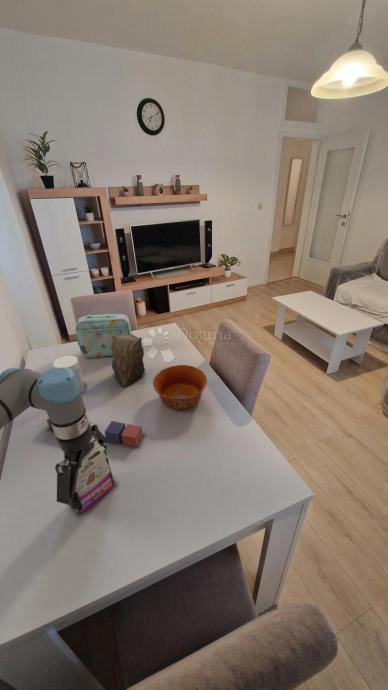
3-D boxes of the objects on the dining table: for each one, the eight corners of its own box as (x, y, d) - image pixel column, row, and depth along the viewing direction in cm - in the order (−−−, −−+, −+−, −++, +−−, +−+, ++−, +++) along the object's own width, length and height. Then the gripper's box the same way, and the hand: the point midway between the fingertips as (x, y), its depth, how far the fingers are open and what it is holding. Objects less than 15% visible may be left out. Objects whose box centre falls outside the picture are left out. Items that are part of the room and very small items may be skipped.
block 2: (106, 442, 93) (104, 431, 91) (113, 431, 97) (111, 420, 95) (120, 445, 92) (118, 434, 90) (126, 433, 96) (125, 423, 94)
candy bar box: (106, 475, 82) (96, 437, 74) (115, 486, 79) (106, 447, 71) (70, 503, 75) (54, 464, 67) (79, 516, 72) (64, 477, 64)
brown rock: (112, 374, 127) (105, 336, 117) (137, 365, 133) (133, 328, 123) (123, 388, 118) (116, 348, 108) (149, 378, 124) (145, 339, 114)
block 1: (50, 430, 98) (46, 420, 95) (59, 420, 102) (56, 410, 99) (62, 433, 97) (59, 423, 94) (71, 422, 101) (68, 412, 98)
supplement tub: (58, 399, 112) (48, 369, 105) (63, 384, 120) (55, 356, 113) (83, 396, 114) (75, 366, 106) (86, 382, 122) (79, 354, 114)
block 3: (123, 445, 92) (121, 435, 90) (129, 434, 96) (127, 423, 94) (137, 448, 91) (135, 437, 88) (142, 436, 95) (141, 426, 93)
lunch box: (78, 361, 136) (68, 322, 126) (81, 350, 145) (72, 313, 134) (133, 355, 141) (128, 317, 130) (133, 345, 150) (128, 308, 139)
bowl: (157, 422, 101) (155, 401, 96) (152, 386, 119) (150, 367, 114) (212, 414, 105) (213, 393, 100) (199, 380, 123) (200, 361, 118)
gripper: (52, 478, 53) (76, 536, 64) (112, 397, 74) (122, 452, 85) (19, 470, 55) (48, 528, 66) (87, 393, 75) (100, 447, 86)
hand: (90, 485), depth 75 cm, fingers closed on candy bar box, 12 cm apart
